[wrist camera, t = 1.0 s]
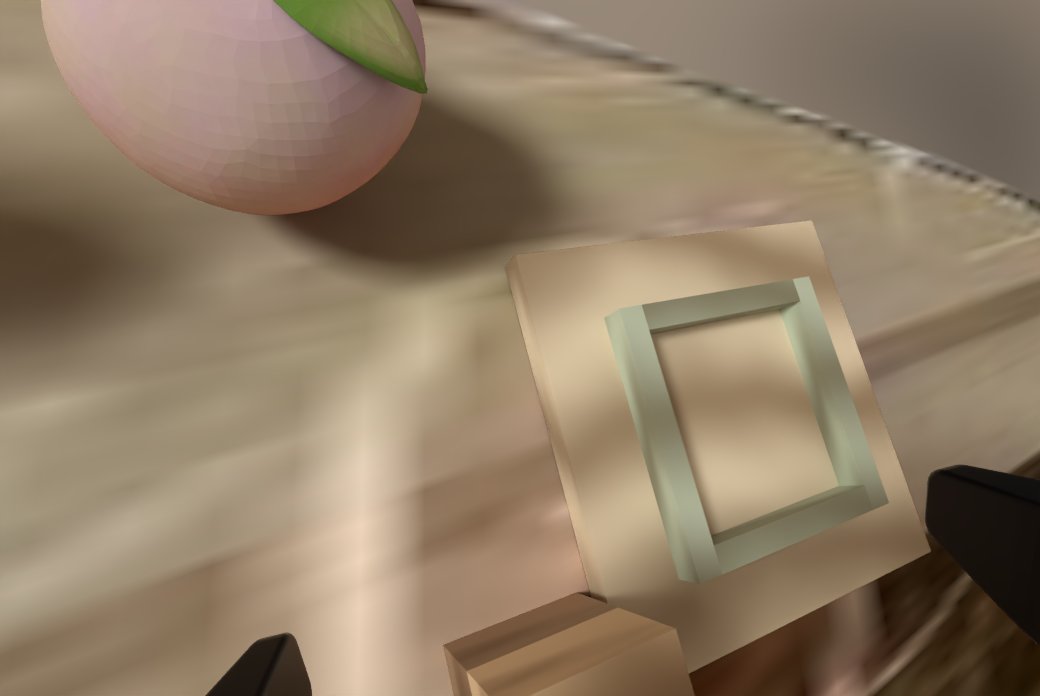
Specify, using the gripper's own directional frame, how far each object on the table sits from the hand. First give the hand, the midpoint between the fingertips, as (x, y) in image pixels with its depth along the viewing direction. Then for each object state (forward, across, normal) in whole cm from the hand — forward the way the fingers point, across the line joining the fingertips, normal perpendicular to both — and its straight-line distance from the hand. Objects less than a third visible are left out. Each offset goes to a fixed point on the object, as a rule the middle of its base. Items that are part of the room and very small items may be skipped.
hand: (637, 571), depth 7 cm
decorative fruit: (+16, +7, -7) cm, 19 cm away
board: (+14, -9, +6) cm, 18 cm away
